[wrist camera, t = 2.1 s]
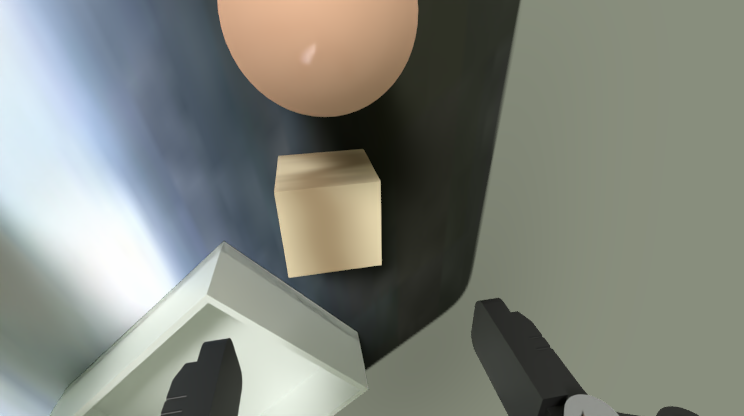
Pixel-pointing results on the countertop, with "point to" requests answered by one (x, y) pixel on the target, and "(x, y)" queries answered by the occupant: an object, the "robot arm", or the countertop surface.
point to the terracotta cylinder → (320, 49)
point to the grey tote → (250, 339)
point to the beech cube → (328, 211)
